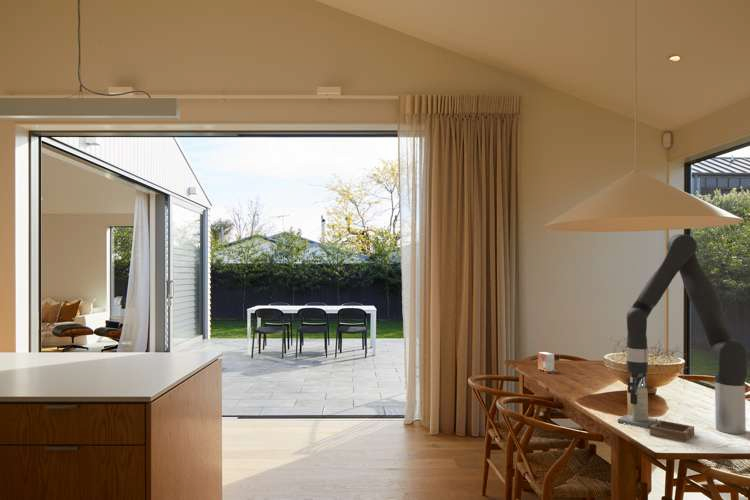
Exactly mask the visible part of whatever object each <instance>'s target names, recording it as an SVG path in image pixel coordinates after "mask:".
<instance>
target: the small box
mask: <svg viewBox="0 0 750 500" xmlns="http://www.w3.org/2000/svg"><path fill="white" fill-rule="evenodd" d="M538 369H541V370H544V371H553V370H554V371H555V354H554V353H551V352H547V351H539V352H537V370H538Z"/></svg>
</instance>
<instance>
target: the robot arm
mask: <svg viewBox="0 0 750 500" xmlns="http://www.w3.org/2000/svg"><path fill="white" fill-rule="evenodd" d="M666 249H667V253H666V255H665V258H664V259H663V261H662V262H661V264H660V266H658V268H657V270H656V271H655V272H654V273H653V274H652V276H650V278H649V279H648V280H647V282H646V283H645V285H644V286H643V288H642V289H641V292H640V293H639V294H638V297H637V299H636V300H635V301H634V303H633V304H632V305H631V307H630V308H629V309H628V311H627V313H626V326H627V327H626V330H627V337H626V355H625V356H626V358H625V359H626V363H625V365H626V372H628V373H631V375H630V376H627V387H628V393H630V403H631V404H637V392H638V390H639V389H640V387H644V388H646V389H648V387H647V386H648V385H647V374H648V373H649V353H648V338H647V328H648V327H647V326H648V325H647V324H648V317H649V316H650V314H651V312H652V311H653V309H654V308H655V307H656V306H657V305H658V304H659V301H660V300H661V299H662V297H663V295H664V294H665V292H666V290H667V289H668V288H669V286H670V284H671V283H672V281H673V279H674V278H675V276H676V275H678V272H679V274H680V278H681V279H682V282H683V286H684V289H685V290H686V294H687V296H688V299H689V301H690V303H691V305H692V309H693V310H694V312H695V314H696V316H697V318H698V321H699V322H700V325H701V326H702V328H703V330H704V333H705V336H706V340H707V343H708V345H709V349H710V352H711V354H712V356H713V358H714V359H716V361H718V371H717V373H715V375H714V398H715V399H714V401H715V403H714V404H715V405H714V407H715V412H714V413H715V415H714V416H715V417H714V418H715V430H717V431H720V432H723V433H727V434H733V435H734V434H735V435H744V434H746V433H747V431H746V429H747V428H746V427H747V426H746V421H747V420H746V419H747V418H746V380H747V377H748V351H747V349H746V348H747V347H745V345H744V344H743V343H741V342H739V341H736V340H734V339H733V338H732V336H731V335H730V333H729V330H728V329H727V327H726V325H725V321H724V312H723V305H722V301H721V299H720V296H719V294H718V292H717V290H716V288H715V286H714V284H713V282H712V281H711V279H710V278H709V277H708V275H707V273H706V272H705V271H704V270H703V268H702V266H701V264H700V262H699V260H698V257H697V255H696V252H697V250H698V243H697V240H696V239H695V238H694V237H693V236H692V235H689V234H684V233H683V234H682V233H681V234H674V235H672V236H671V237H670V238H669V239H668V240H667V242H666ZM632 389H633V390H632Z"/></svg>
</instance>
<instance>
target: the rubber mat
mask: <svg viewBox="0 0 750 500" xmlns="http://www.w3.org/2000/svg"><path fill="white" fill-rule="evenodd" d="M657 421H659V419H658V418H653V417H648V421H632V420H631V419H629V418H628V413H627V414H625V415H623V416H621V417H620V418H618V419H617V423H618V422H620V423H619V424H623V423H625V425H628V424H630V425H629V426H633V425H635V426H634V427H638V426H640V428H643V427H644V429H648V428H649V429H650V426H651V425H653V424H654V423H656V422H657Z"/></svg>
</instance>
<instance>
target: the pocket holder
mask: <svg viewBox="0 0 750 500" xmlns="http://www.w3.org/2000/svg"><path fill="white" fill-rule="evenodd" d="M649 436H652V437H657V438H662V439H668V440H673V441H676V442H682V443H687V442H688V441H689V440H690V439H692V438H693V437H694V436H695V426H693V425H688V424H682V423H678V422H673V421H672V422H671V421H665V420H661V419H658V421H657V422H656V423H654V424H653V425H651V426H650V428H649Z"/></svg>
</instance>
